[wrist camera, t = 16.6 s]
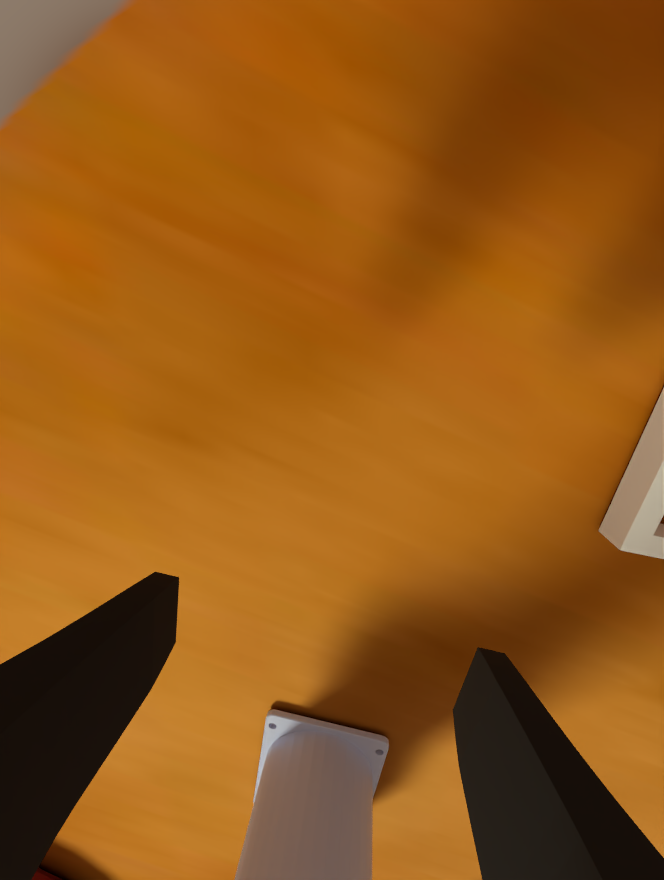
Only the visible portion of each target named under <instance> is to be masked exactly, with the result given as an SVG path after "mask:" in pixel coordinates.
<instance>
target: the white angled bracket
mask: <svg viewBox="0 0 664 880" xmlns="http://www.w3.org/2000/svg"><path fill="white" fill-rule="evenodd" d="M663 515H664V388H663V390H662V392H661V395H660V397H659V399H658V401H657V403H656V406H655V408H654V410H653V412H652V414H651V417H650V419H649V421H648V423H647V425H646V427H645V430H644V432H643V434H642V436H641V438H640V441H639V443H638V445H637V447H636V449H635V452H634V454H633V456H632V458H631V460H630V463H629V465H628V467H627V469H626V471H625V474H624V476H623V478H622V480H621V482H620V484H619V487H618V489H617V491H616V493H615V495H614V498H613V500H612V502H611V504H610V506H609V509H608V511H607V513H606V515H605V517H604V520H603V522H602V524H601V526H600V528H599V530H598V531H599V532H600V533H601V534H602V535H603V536H605V537H606V538H607V539H608V540H609V541H610V542H611V543H612V544H613V545H615V546H616V547H617V548H618V549H619V550H621V551H626V552H631V553H636V554H641V555H646V556H651V557H656V558H660V559H664V524H661V523H660V521H661V519H662V517H663Z"/></svg>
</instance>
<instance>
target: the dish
mask: <svg viewBox="0 0 664 880" xmlns="http://www.w3.org/2000/svg"><path fill="white" fill-rule="evenodd" d="M32 880H63V879H61V878H59V877H57V876H55V875H52V874H50V873H48V872H46V871H44V870H42V869H40V868H38V869H37V871H36V872H35V874H34V876H33V878H32Z"/></svg>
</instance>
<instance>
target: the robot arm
mask: <svg viewBox="0 0 664 880" xmlns="http://www.w3.org/2000/svg"><path fill="white" fill-rule="evenodd" d="M178 588H179V577H175V576H171V575H167V574H162V573H158V572H154V573H152V574H151V575H149V576H147V577H146V578H144V579H143V580H141V581H139V582H138V583H136V584H134V585H133V586H131V587H130V588H128V589H126V590H125V591H123V592H122V593H120V594H118V595H117V596H115V597H114V598H112V599H111V600H109V601H107V602H106V603H104V604H103V605H101V606H99V607H98V608H96V609H94V610H93V611H91V612H90V613H88V614H86V615H85V616H83V617H81V618H80V619H78V620H76V621H75V622H73V623H71V624H70V625H68V626H66V627H65V628H63V629H62V630H60V631H58V632H57V633H55V634H53V635H52V636H50V637H48V638H46V639H45V640H43V641H41V642H39V643H38V644H36V645H34V646H32V647H31V648H29V649H27V650H25V651H24V652H22V653H20V654H18V655H16V656H15V657H13V658H11V659H9V660H8V661H6V662H4V663H2V664H0V880H32V878H33V876H34V874H35V872H36V871H37V869H38V867H39V865H40V864H41V862H42V860H43V858H44V857H45V855H46V853H47V851H48V849H49V848H50V846H51V844H52V842H53V841H54V839H55V837H56V836H57V834H58V832H59V831H60V829H61V828H62V826H63V824H64V823H65V821H66V819H67V818H68V816H69V815H70V813H71V811H72V810H73V808H74V806H75V805H76V803H77V802H78V800H79V799H80V797H81V796H82V794H83V793H84V791H85V790H86V788H87V787H88V785H89V784H90V782H91V781H92V779H93V777H94V776H95V774H96V773H97V771H98V770H99V768H100V767H101V765H102V764H103V762H104V761H105V759H106V758H107V756H108V755H109V753H110V752H111V750H112V749H113V747H114V745H115V744H116V742H117V741H118V739H119V738H120V736H121V735H122V733H123V732H124V730H125V729H126V727H127V726H128V724H129V723H130V721H131V719H132V718H133V716H134V715H135V713H136V712H137V710H138V709H139V707H140V706H141V704H142V703H143V701H144V699H145V698H146V696H147V695H148V693H149V692H150V690H151V688H152V687H153V685H154V683H155V681H156V679H157V677H158V675H159V674H160V672H161V670H162V668H163V666H164V664H165V662H166V660H167V658H168V656H169V654H170V652H171V650H172V648H173V646H174V644H175V642H176V626H177V607H178ZM453 716H454V726H455V736H456V745H457V754H458V762H459V768H460V774H461V779H462V784H463V789H464V793H465V798H466V803H467V808H468V813H469V818H470V823H471V827H472V832H473V837H474V841H475V846H476V851H477V856H478V860H479V865H480V870H481V875H482V879H483V880H664V858H663V857H662V856H661V854H660V853H659V852H658V851H657V850H656V848H655V847H654V846H653V845H652V844H651V842H650V841H649V840H648V839H647V837H646V836H645V835H644V834H643V833H642V831H641V830H640V829H639V828H638V826H637V825H636V824H635V823H634V822H633V820H632V819H631V818H630V817H629V815H628V814H627V813H626V812H625V811H624V809H623V808H622V807H621V806H620V804H619V803H618V802H617V801H616V800H615V798H614V797H613V796H612V794H611V793H610V792H609V791H608V789H607V788H606V787H605V786H604V784H603V783H602V782H601V781H600V779H599V778H598V777H597V775H596V774H595V773H594V772H593V770H592V769H591V768H590V766H589V765H588V764H587V763H586V761H585V760H584V759H583V757H582V756H581V755H580V753H579V752H578V751H577V750H576V748H575V747H574V746H573V744H572V743H571V742H570V740H569V739H568V738H567V736H566V735H565V734H564V732H563V731H562V730H561V728H560V727H559V726H558V724H557V723H556V722H555V720H554V719H553V718H552V716H551V715H550V714H549V712H548V711H547V710H546V708H545V707H544V706H543V704H542V703H541V701H540V700H539V699H538V697H537V696H536V695H535V693H534V692H533V691H532V689H531V688H530V687H529V685H528V684H527V682H526V681H525V680H524V678H523V677H522V676H521V674H520V673H519V672H518V670H517V669H516V668H515V666H514V665H513V664H512V662H511V661H510V660H509V658H508V657H507V656H506V655H505V653H500V652H496V651H492V650H488V649H483V648H479V647H478V648H477V651H476V653H475V656H474V658H473V661H472V663H471V666H470V668H469V671H468V673H467V676H466V678H465V681H464V683H463V686H462V688H461V691H460V693H459V696H458V698H457V701H456V703H455V706H454V708H453ZM388 749H389V740H388V739H387V738H386V737H385V736H383V735H379V734H375V733H370V732H366V731H362V730H358V729H354V728H350V727H346V726H341V725H337V724H333V723H329V722H325V721H321V720H317V719H313V718H308V717H304V716H300V715H296V714H292V713H288V712H284V711H280V710H275V709H273V710H270V711H268V713H267V717H266V722H265V729H264V735H263V742H262V748H261V755H260V761H259V768H258V774H257V781H256V787H255V794H254V800H253V802H254V806H253V809H252V813H251V817H250V821H249V825H248V829H247V833H246V837H245V841H244V845H243V849H242V852H241V856H240V860H239V864H238V868H237V872H236V876H235V880H372V804H373V797H374V793H375V790H376V787H377V784H378V781H379V778H380V774H381V771H382V768H383V765H384V762H385V759H386V755H387V752H388Z"/></svg>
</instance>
